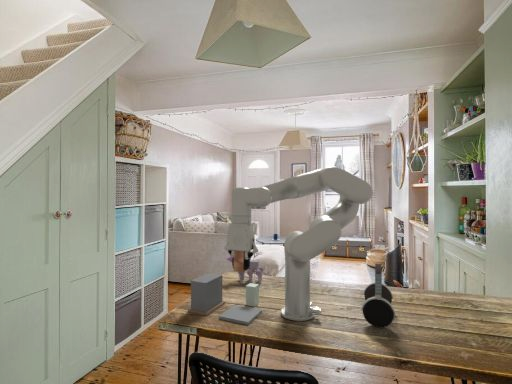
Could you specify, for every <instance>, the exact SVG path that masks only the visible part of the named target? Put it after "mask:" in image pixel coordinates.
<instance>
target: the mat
mask: <svg viewBox="0 0 512 384" xmlns="http://www.w3.org/2000/svg"><path fill="white" fill-rule="evenodd" d="M262 313H263V309H259V308H254V307H250V306H248V307H247V306H243V305H237V304H234V305H232V306H231V307H230V308H228V309H227V310H225V311H224V312H222V313H221V314H219V316H218V319H220V320H224V321H228V322H233V323H236V324H242V325H247V326H249V325H250V324H251V323H252V322H253V321H255V319H257V318H258V317H259V316H260V315H261V314H262Z"/></svg>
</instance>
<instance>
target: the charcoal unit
mask: <svg viewBox="0 0 512 384" xmlns="http://www.w3.org/2000/svg"><path fill="white" fill-rule="evenodd" d="M225 304H226V301H224V300H223V275H222V274H216V273H206V274H203V275H201V276H199V277H196V278H193V279H192V280H190V307H189V308H187V312H188V313H193V314H198V315H203V316H209V315H210V314H212V313H214V312H215V311H217V310H218V309H220V308H221V307H222V306H224V305H225Z"/></svg>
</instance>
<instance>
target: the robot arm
mask: <svg viewBox="0 0 512 384" xmlns="http://www.w3.org/2000/svg"><path fill="white" fill-rule="evenodd" d="M328 190H329V191H330V190H331V191H334V193H337V194H338V195H339V200H338V202H337V204H336V205H334V207H332V208H330V209H329V210H328V211H326V212H324V213H323V214H320V216H319V215H318V216H317V217H315V218H314V219H313V220H312V221H311V222H310V223H309V225H308V229H306V230H305V231H304V232H303V231H300V230H293V231H291V232H289V233H288V234H287V235H286V237H285V239H284V244H283V247H284V249H283V250H284V265H285V266H284V270H285V271H284V299H285V300H284V307H282V308H281V310H280V315H281V317H283V318H285V319H287V320H291V321H296V322H303V321H310V320H311V319H313V318H314V317H315V315H319V316H320V315H322V312H323V311H322V309H321V308H320V307H319V306H314V305H313V302H312V301H311V260H313V259H314V258H316V257H318V256H319V255H321V254H323V253H324V252H326V251H327V250H329V249H330V248H332V247H333V246H335V244H337V243H338V242H339V240H340V238H341V236H342V230H343V229H344V228H345V227H347V226H348V225H349V224H350V225H351V223H352V222H354V220H355V219H356V217H357V215H358V212H359V208H360V205H363V204H364V205H365V204H366V203H368V202H369V201H370V200H371V199H372V197H373V193H374V192H373V188H372V186H371V185H370V183H369V182H368V181H366V180H364V179H362V178H360V177H358V176H356V175H354V174H352V173H350V172H348V171H346V170H344V169H342V168H341V167H338V166H334V165H330V166H326V167H322V168H318V169H315V170H312V171H308V172H304V173H301V174H297V175H294V176H291V177H288V178H285V179H283V180H280V181H277V182H274V183H270V184H266V185H263V186H258V187H250V188H249V187H239V186H238V187H233V188H232V189H231V194H230V195H231V196H230V198H231V200H230V202H231V205H230V206H231V208H230V209H231V210H230V211H231V212H230V214H231V215H230V216H228V220H229V221H230V223H229V224H228V229H227V233H226V244H225V246H224V250H225V251H226V252H228V254H229V255H230V257H231V258H232V262H231V264H232V269H233V270H234V251H243V252H244V254H245V259H244V270H247V269H248V270H249V267H250V260H251V258H252V257H253V256H254V255H255V254H257V253H259V249H258V247H257V246H256V238H255V230H254V224H253V223H252V207H259V208H264V207H267V206H269V205H270V204H274V203H277V202H280V201H285V200H293V199H300V198H304V197H308V196H311V195H314V194H318V193H322V192H325V191H328ZM248 270H247V271H248Z"/></svg>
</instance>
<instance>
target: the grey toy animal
mask: <svg viewBox="0 0 512 384" xmlns="http://www.w3.org/2000/svg"><path fill="white" fill-rule="evenodd" d="M226 260H227V261H229V262H230V263H232V258H231V256H229V257H227V258H226ZM264 270H265V269H264V267H263V266H260V260H254V259H250V267H249V269H248V270H247V271H245V272H237V275H238V276H239V283H240V284H242V283H244V281H243V279H245V273H246V274H247V275H248V279H249V284H250V283H253V275H254V272H255V276H257V282H258V283H257V284H259V285H261V284H262V280H263V271H264Z"/></svg>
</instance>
